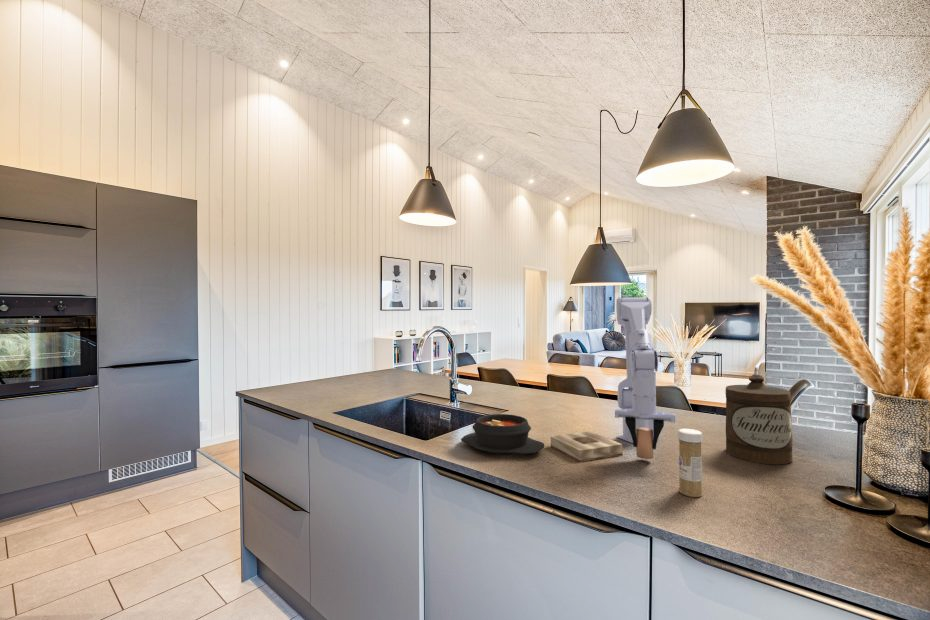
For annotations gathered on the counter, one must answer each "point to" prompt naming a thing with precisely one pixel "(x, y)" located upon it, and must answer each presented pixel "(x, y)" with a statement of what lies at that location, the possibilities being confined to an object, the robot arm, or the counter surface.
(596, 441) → the oak socket block
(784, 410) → the wooden container
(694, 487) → the sprinkles bottle
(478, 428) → the casserole
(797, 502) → the counter surface
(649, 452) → the terracotta peg
